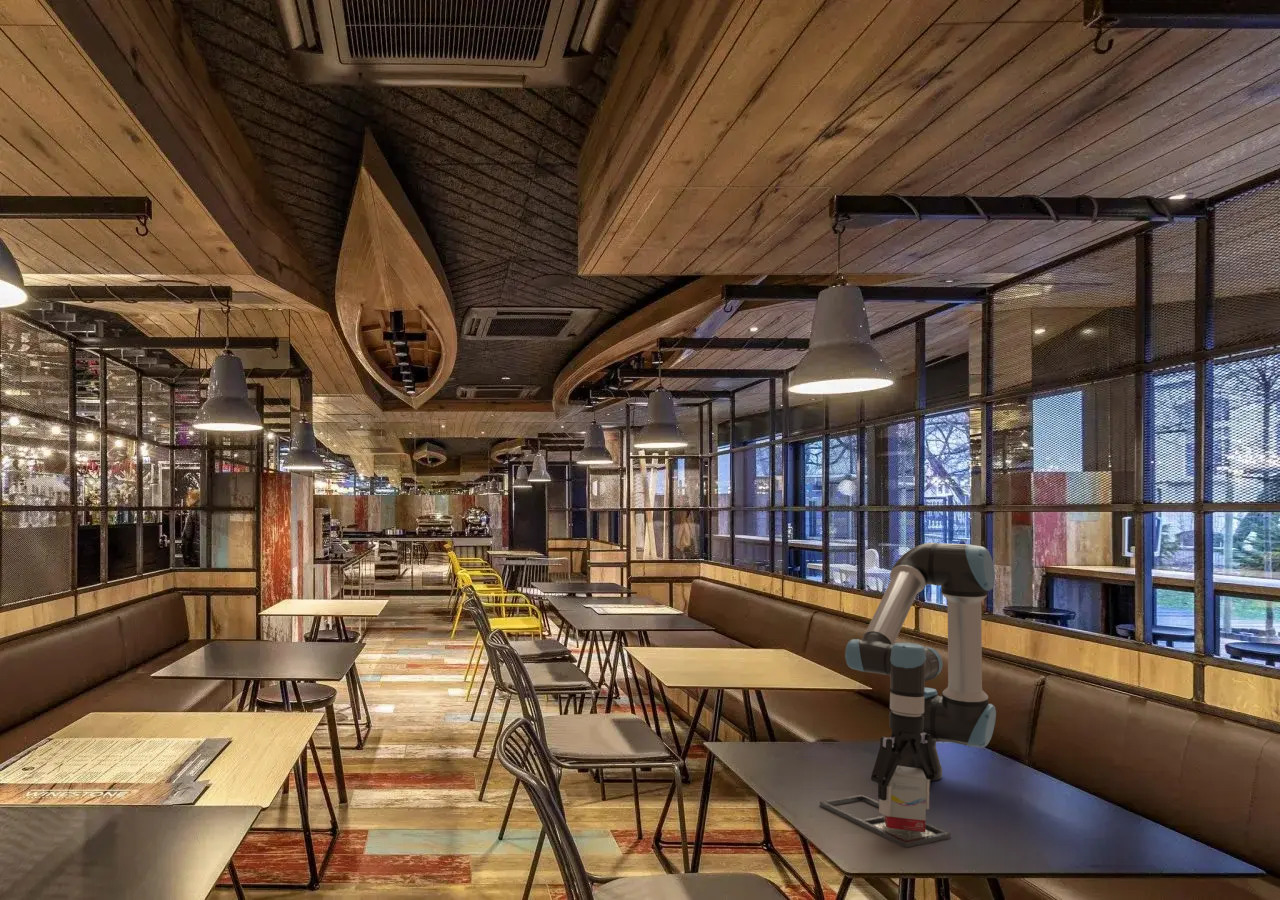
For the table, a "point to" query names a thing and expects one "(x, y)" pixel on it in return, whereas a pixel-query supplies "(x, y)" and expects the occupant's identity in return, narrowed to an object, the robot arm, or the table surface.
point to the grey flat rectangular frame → (895, 835)
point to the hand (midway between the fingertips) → (904, 810)
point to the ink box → (907, 800)
